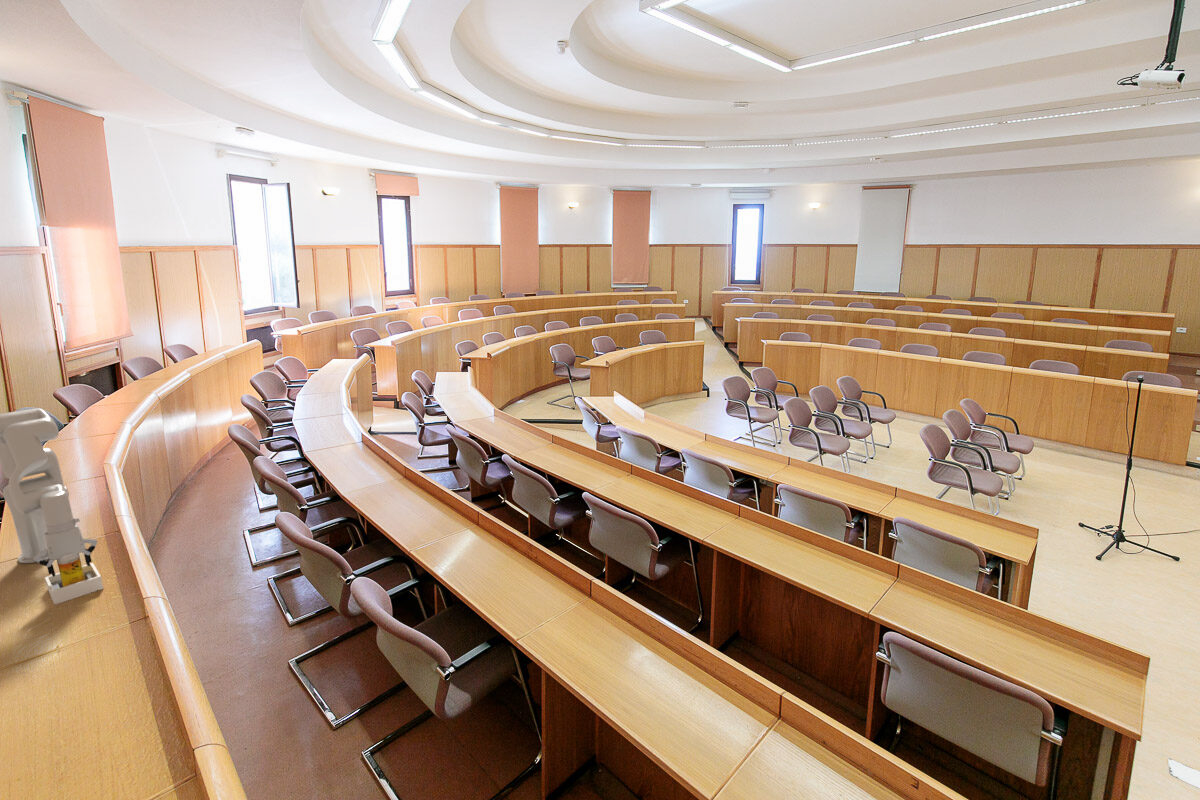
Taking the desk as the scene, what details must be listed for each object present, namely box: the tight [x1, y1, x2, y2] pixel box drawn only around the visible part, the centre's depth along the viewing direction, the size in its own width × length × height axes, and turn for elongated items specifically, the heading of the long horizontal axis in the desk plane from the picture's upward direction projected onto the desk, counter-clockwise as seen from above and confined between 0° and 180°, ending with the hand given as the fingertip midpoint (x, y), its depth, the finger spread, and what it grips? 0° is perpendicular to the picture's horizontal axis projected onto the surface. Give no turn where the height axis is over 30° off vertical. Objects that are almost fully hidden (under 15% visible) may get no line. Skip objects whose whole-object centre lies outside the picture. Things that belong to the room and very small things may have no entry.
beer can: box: [56, 553, 85, 587], centre depth 220 cm, size 6×6×15 cm
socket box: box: [44, 562, 104, 605], centre depth 221 cm, size 14×14×5 cm
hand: (71, 569), depth 220 cm, fingers open, 9 cm apart
